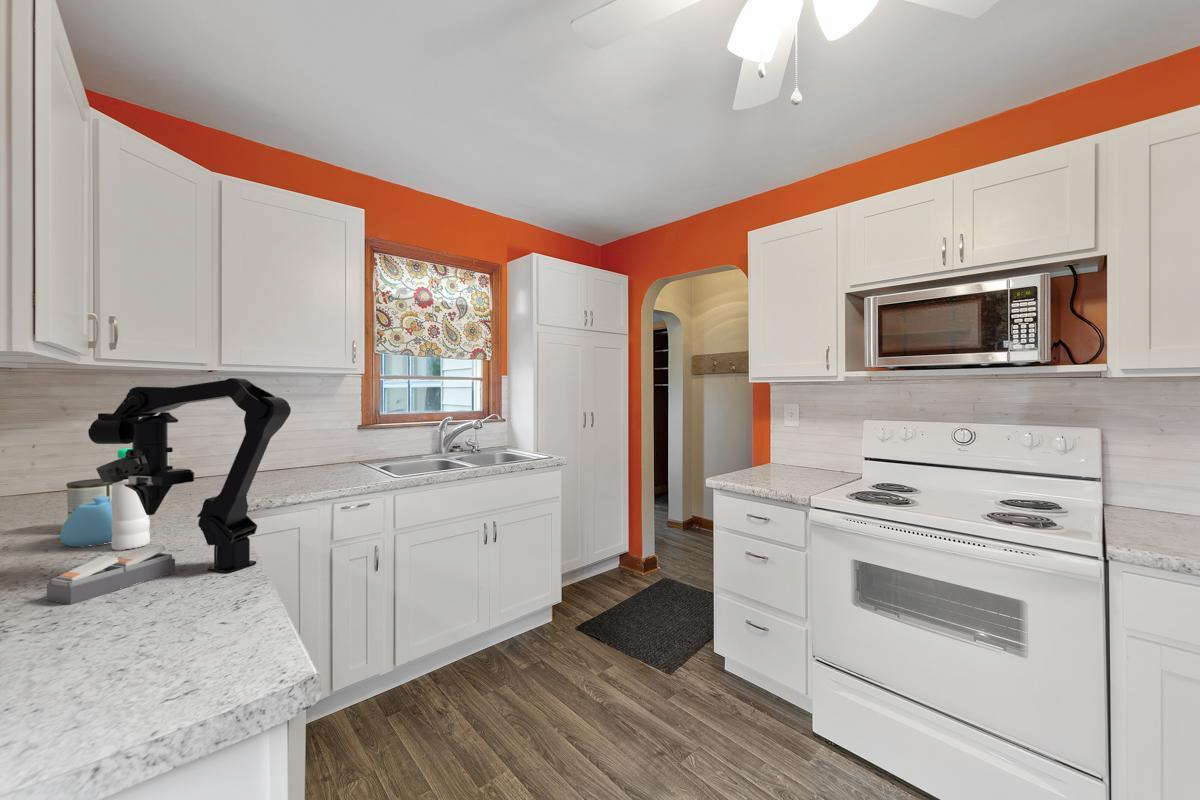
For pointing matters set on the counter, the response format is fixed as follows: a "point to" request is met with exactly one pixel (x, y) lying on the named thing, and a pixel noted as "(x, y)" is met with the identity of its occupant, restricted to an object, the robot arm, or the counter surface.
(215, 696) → the counter surface
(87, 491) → the coffee can
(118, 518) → the white bottle
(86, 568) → the rocker
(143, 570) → the rocker switch panel
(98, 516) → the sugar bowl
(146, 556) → the block
